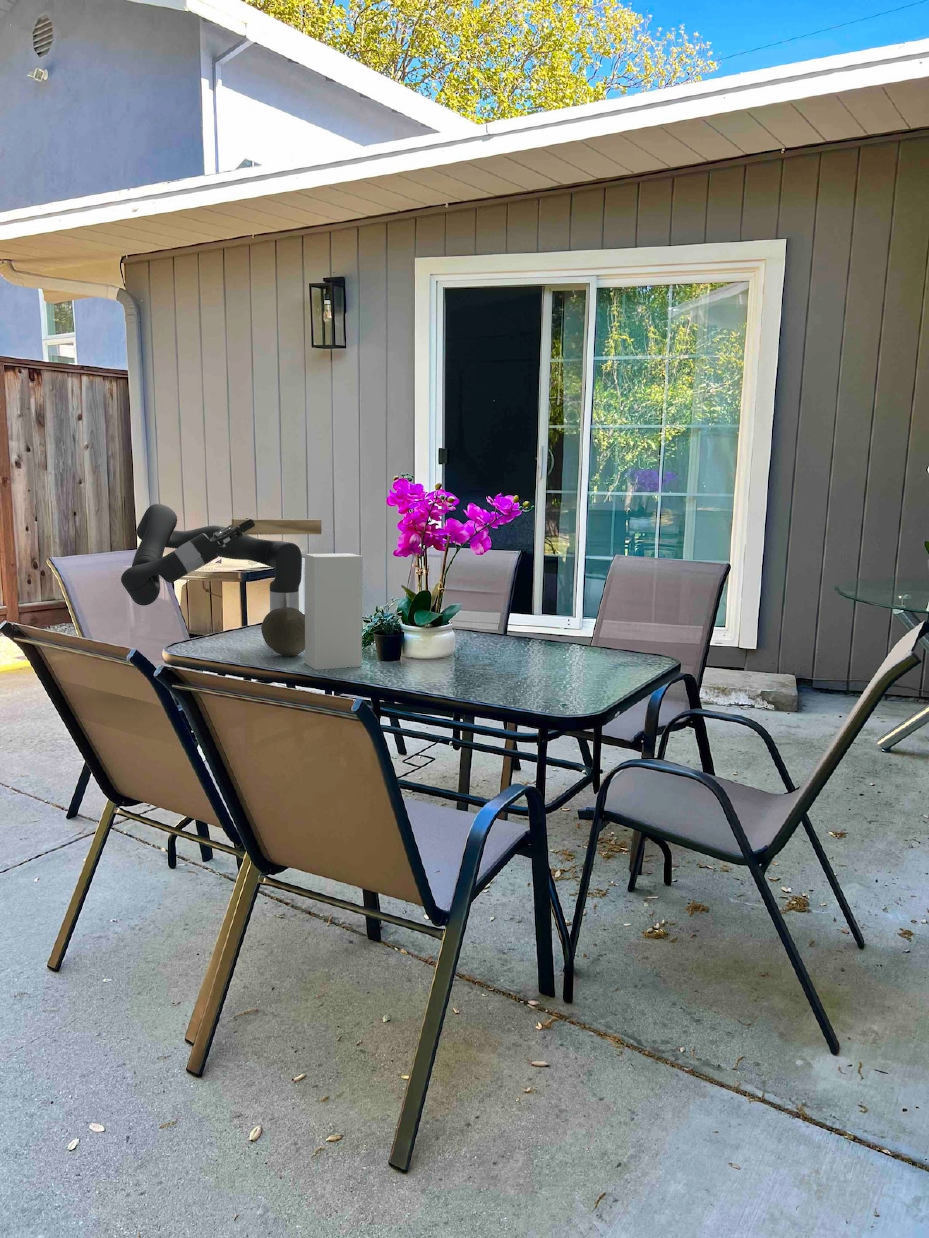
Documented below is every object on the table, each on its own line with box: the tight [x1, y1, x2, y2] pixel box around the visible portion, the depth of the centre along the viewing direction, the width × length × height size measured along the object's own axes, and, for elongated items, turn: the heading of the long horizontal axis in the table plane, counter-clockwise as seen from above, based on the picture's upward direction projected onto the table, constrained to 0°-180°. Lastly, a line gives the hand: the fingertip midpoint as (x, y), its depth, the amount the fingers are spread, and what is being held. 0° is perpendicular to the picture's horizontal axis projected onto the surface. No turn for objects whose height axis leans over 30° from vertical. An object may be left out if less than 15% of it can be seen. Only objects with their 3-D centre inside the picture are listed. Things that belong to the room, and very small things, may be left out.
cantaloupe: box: [260, 607, 305, 657], centre depth 265 cm, size 14×14×15 cm
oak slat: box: [231, 518, 322, 536], centre depth 242 cm, size 4×24×4 cm, turn 116°
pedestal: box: [304, 552, 364, 671], centre depth 253 cm, size 10×14×32 cm
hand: (251, 521), depth 239 cm, fingers closed on oak slat, 4 cm apart
